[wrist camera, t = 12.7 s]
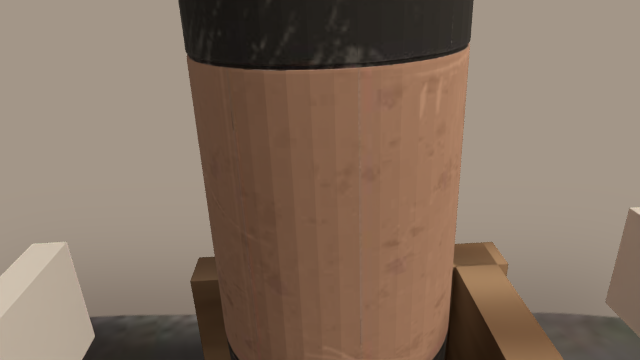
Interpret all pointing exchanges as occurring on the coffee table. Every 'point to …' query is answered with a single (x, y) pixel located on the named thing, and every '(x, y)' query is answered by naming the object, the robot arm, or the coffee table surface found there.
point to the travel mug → (331, 170)
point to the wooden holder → (464, 315)
